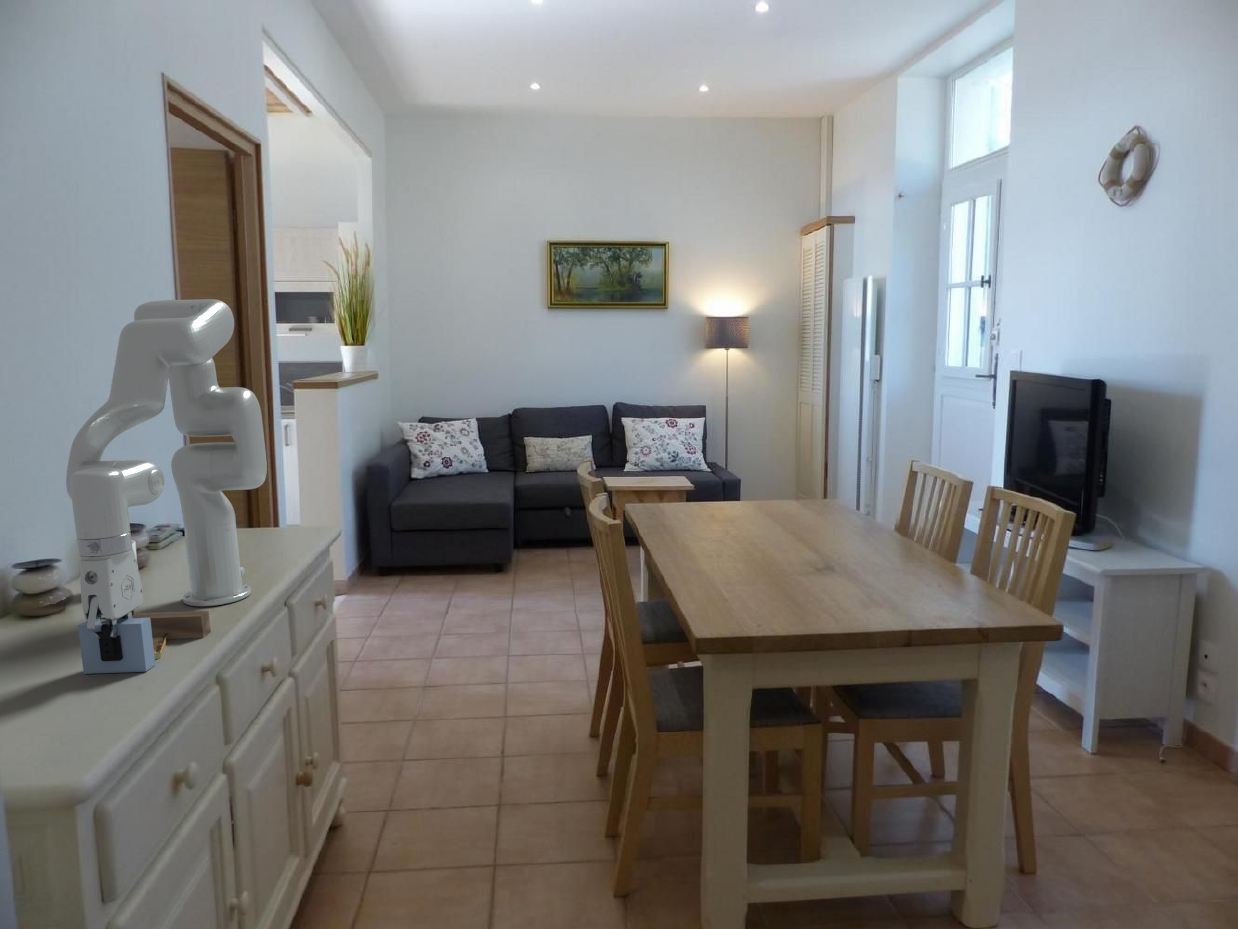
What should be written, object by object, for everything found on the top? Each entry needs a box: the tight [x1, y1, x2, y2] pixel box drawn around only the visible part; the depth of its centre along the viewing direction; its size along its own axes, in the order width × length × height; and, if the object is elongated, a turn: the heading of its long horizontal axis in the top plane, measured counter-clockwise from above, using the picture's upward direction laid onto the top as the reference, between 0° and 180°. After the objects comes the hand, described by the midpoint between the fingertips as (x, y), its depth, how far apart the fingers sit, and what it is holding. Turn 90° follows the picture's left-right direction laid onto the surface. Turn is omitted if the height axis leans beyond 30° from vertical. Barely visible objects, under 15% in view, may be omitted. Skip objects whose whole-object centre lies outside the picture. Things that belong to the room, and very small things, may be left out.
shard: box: [153, 633, 168, 661], centre depth 155 cm, size 11×8×2 cm
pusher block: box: [77, 618, 156, 675], centre depth 148 cm, size 3×10×8 cm, turn 91°
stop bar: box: [132, 610, 212, 640], centre depth 163 cm, size 3×15×4 cm, turn 91°
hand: (118, 655), depth 148 cm, fingers closed on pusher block, 2 cm apart
